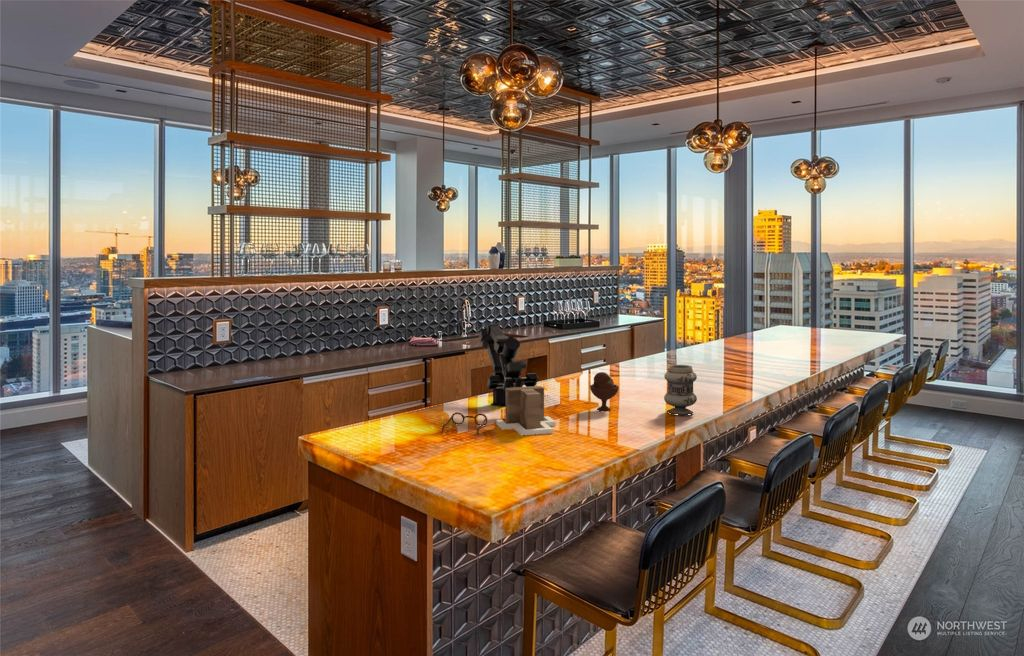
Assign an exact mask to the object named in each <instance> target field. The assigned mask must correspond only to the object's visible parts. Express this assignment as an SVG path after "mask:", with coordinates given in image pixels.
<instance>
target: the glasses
mask: <svg viewBox="0 0 1024 656" xmlns="http://www.w3.org/2000/svg"><path fill="white" fill-rule="evenodd" d="M455 415H458V416H461V417H462V421H461V422H456V421H455V420H454V416H455ZM479 416H481V417H483V418H484V420H483V421H482V423H479V422H478V420H477V417H479ZM466 418H469V419H474V422H475V424H476V426H478V425H481V426H478V427H477V430H476V436H477V435H478V436H479V431H480V429H481V428H482V427H484V426H483V425H485V426H486V425H487V424H488V417H487V415H485V414H484V413H477V414H475V415H474V416H473V415H464V414H463V413H461V412H454V413H453V414H452V415H451V416H450V418H449V419H448V421H447V422H446V423H444V424H443V425H442V427H441V434H442V433H444V430H445V427H446V426H448V425H449V423H450V422H451V421H452V424H454V425H456V424H461V425H463V424H464V423H465V419H466ZM442 435H443V434H442Z"/></svg>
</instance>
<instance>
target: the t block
mask: <svg viewBox="0 0 1024 656" xmlns="http://www.w3.org/2000/svg"><path fill="white" fill-rule="evenodd" d="M514 387H515V386H514ZM505 392H506V406H505V423H506V424H511V423H519V424H520V425H521V426H522V427H523V428H525V429H537V428H540V421H544V416H545V387H543V386H541V385H536V386H532V387H526V386H522V387H515V388H505Z"/></svg>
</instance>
